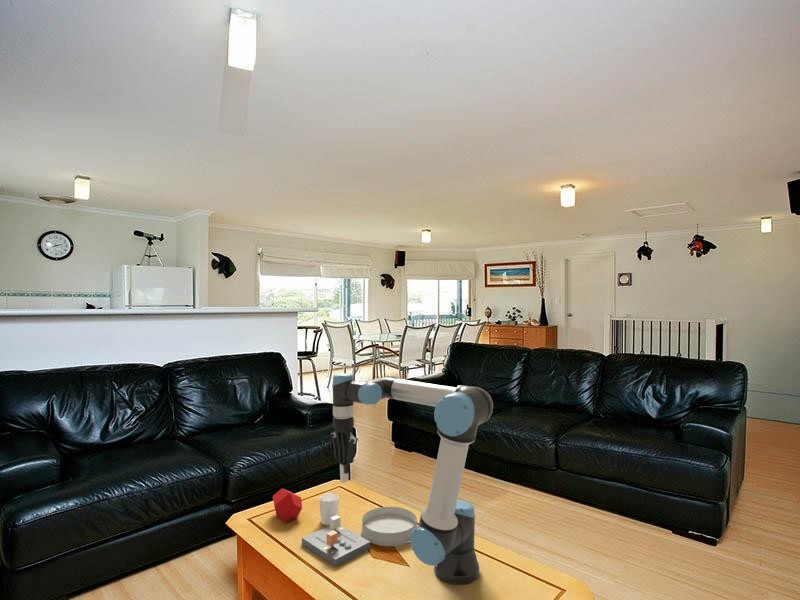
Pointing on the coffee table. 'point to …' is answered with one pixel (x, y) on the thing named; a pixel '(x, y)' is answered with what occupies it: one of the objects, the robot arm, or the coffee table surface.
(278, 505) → the red faceted polyhedron
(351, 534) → the console
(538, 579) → the coffee table surface
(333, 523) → the cream block
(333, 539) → the fader
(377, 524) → the dish
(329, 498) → the white cup
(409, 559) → the coffee table surface
